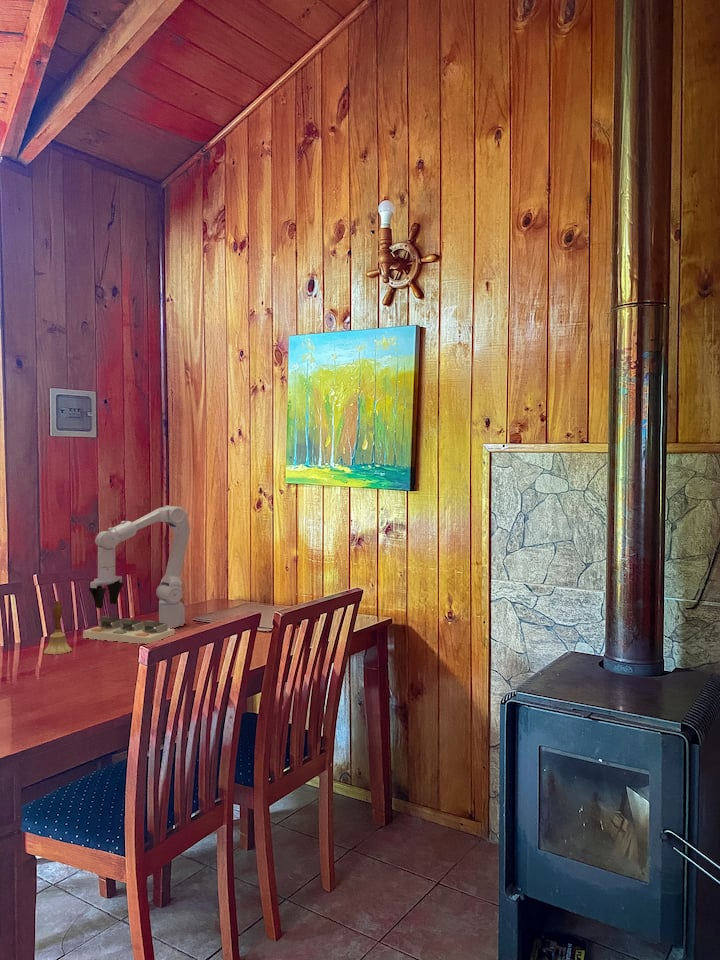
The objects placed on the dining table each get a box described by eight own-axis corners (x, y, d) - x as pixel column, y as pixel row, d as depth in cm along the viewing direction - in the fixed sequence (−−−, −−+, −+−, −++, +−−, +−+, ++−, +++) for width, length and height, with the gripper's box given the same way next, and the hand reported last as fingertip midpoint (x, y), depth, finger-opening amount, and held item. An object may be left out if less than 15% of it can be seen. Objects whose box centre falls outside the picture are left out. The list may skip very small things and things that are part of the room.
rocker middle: (134, 625, 254) (135, 620, 254) (144, 626, 253) (145, 621, 253) (120, 623, 247) (121, 618, 247) (130, 624, 245) (131, 619, 246)
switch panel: (110, 629, 259) (110, 616, 259) (174, 636, 250) (174, 622, 250) (83, 638, 246) (83, 624, 246) (149, 645, 237) (149, 631, 237)
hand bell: (65, 655, 224) (65, 603, 224) (38, 654, 224) (38, 603, 224) (76, 648, 233) (76, 598, 232) (50, 648, 233) (50, 598, 232)
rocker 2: (156, 627, 251) (157, 622, 251) (166, 628, 249) (167, 623, 250) (142, 625, 244) (143, 620, 244) (152, 626, 242) (153, 621, 243)
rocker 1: (113, 623, 257) (114, 618, 257) (123, 624, 256) (124, 618, 256) (98, 621, 250) (99, 615, 250) (108, 622, 248) (109, 616, 249)
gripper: (109, 563, 257) (109, 601, 258) (82, 568, 243) (82, 608, 244) (127, 564, 255) (126, 602, 255) (100, 569, 241) (100, 610, 242)
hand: (106, 605), depth 249 cm, fingers open, 7 cm apart
